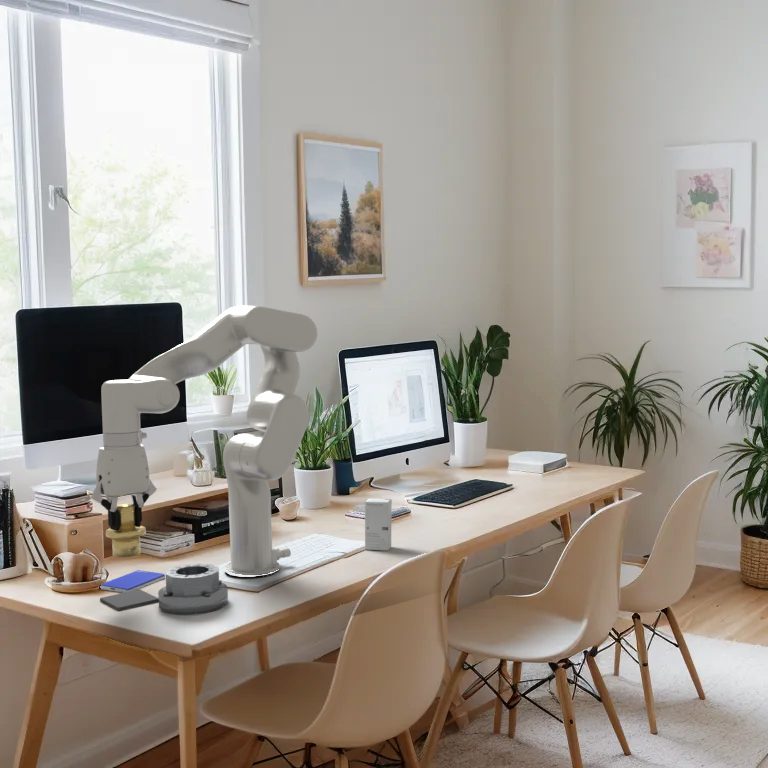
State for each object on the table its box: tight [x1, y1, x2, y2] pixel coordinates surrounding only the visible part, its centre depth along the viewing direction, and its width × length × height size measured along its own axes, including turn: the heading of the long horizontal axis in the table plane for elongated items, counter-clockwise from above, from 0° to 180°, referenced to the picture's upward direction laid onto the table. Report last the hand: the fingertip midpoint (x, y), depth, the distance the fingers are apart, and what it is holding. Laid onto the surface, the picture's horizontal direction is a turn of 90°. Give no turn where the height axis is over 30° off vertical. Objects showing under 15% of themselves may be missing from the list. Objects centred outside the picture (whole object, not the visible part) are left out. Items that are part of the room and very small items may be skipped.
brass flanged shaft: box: [105, 503, 147, 558], centre depth 210 cm, size 8×8×10 cm
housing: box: [157, 563, 229, 616], centre depth 208 cm, size 14×14×7 cm
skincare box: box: [364, 497, 393, 552], centre depth 250 cm, size 6×4×12 cm
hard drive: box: [100, 569, 166, 593], centre depth 224 cm, size 2×8×12 cm
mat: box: [99, 588, 159, 611], centre depth 211 cm, size 9×9×1 cm
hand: (125, 526), depth 210 cm, fingers closed on brass flanged shaft, 4 cm apart
